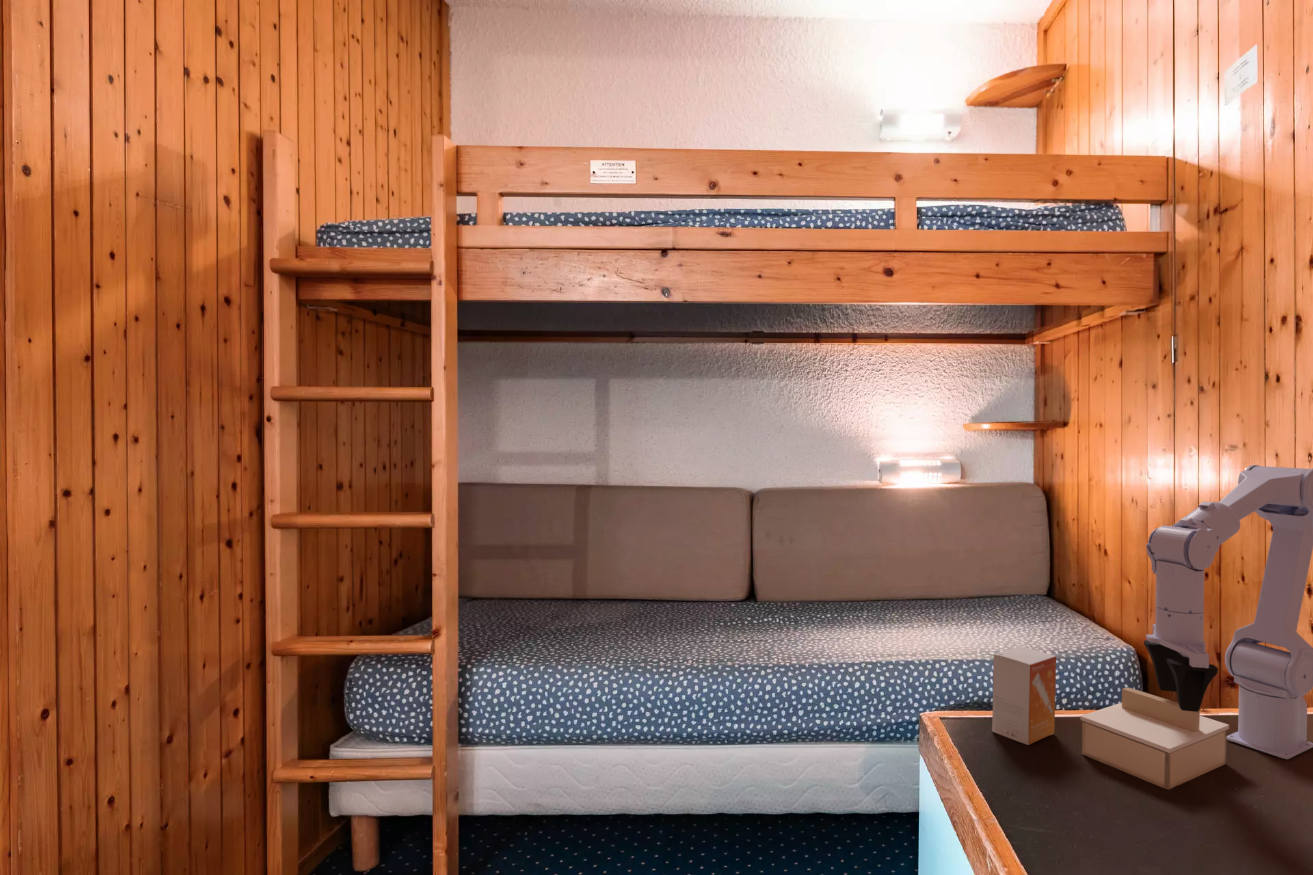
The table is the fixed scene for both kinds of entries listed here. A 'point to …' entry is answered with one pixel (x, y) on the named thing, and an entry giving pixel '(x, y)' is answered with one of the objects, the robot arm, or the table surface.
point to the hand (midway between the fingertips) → (1178, 699)
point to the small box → (1024, 694)
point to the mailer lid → (1154, 721)
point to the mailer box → (1154, 756)
